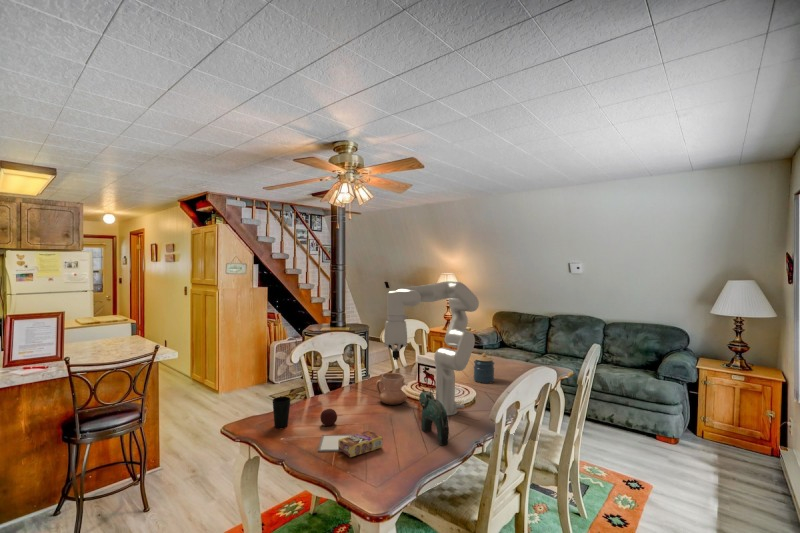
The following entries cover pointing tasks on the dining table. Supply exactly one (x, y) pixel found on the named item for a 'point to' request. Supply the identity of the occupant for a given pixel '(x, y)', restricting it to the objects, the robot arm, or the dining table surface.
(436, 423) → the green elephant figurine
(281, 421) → the cup
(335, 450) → the mat
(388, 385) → the ceramic jug
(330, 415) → the dark maroon ball
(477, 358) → the canister
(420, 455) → the dining table surface
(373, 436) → the candy box
